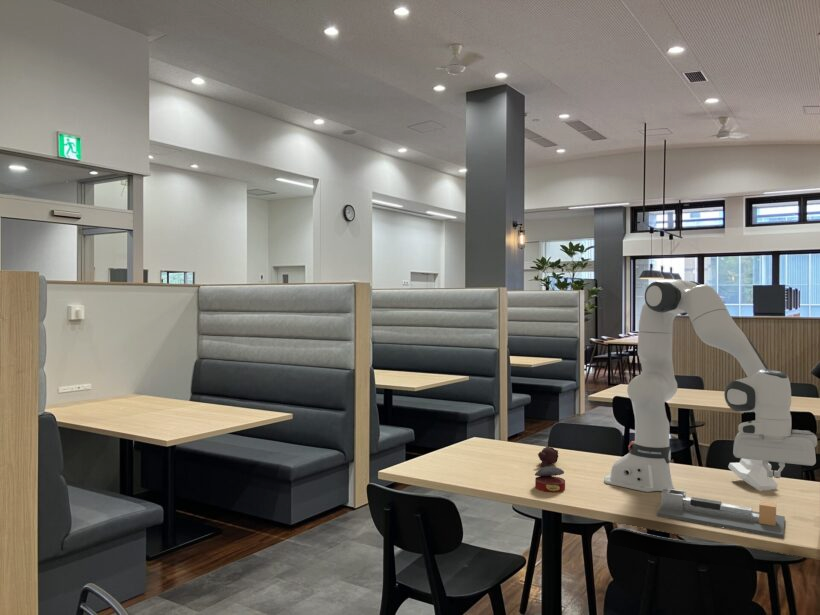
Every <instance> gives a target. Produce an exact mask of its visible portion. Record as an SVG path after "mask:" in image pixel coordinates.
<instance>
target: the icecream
mask: <svg viewBox="0 0 820 615" xmlns="http://www.w3.org/2000/svg"><path fill="white" fill-rule="evenodd" d="M537 456H538V459H539V460H540V461H541V463H540V467H541V468H543V467H547V465H553V464H555V463H557V462H558V459H559V450H558V449H555V448H554V447H551V446H546V447H544V448H542V450H541V451H539V452H538V454H537Z"/></svg>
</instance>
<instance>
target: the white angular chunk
mask: <svg viewBox="0 0 820 615" xmlns="http://www.w3.org/2000/svg"><path fill="white" fill-rule="evenodd" d="M767 466H768V467H769V469H770V470H772V464H771V463H769V462H768V465H767ZM727 468H728V469H729V470H731V472H733V473H734V475H735V476H737V478H740V479H741V480H743V481H744V482H745V483H747V484H748V485H749V486H751V487H753V488H754V489H755V490H757V491H758V490H759V491H758V492H761V491H760V490H764V491H772V490H771V489H774V490H778V486H779V484H778V482H776V481H775V480H774V477H767V471H766V469H765V468H764V466H763V464H762V460H753V459H743V458H740V460H739V462H729V464H728V467H727Z"/></svg>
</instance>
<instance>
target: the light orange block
mask: <svg viewBox="0 0 820 615" xmlns="http://www.w3.org/2000/svg"><path fill="white" fill-rule="evenodd" d="M758 506H759V507H758V508H759V510H758V512H759V523H761V524H767V525H773V526H775V524H776V515H777V502H775V501H767V500H760V501H759V505H758Z"/></svg>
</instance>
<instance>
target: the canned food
mask: <svg viewBox="0 0 820 615" xmlns="http://www.w3.org/2000/svg"><path fill="white" fill-rule="evenodd" d="M563 474H565V471H564V469H561V468H559V467H557V466H545V467H541V468H539V470H537V471H536V472H535V473H534V476H536V477H535V480H534V482H535V484H534V486H535V489H536V490H538V491H540V492H541V491H542V492H545V493H562V492H564V491H565V490H566V480H565V479H564V478H562V477H560V476H561V475H563Z"/></svg>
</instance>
